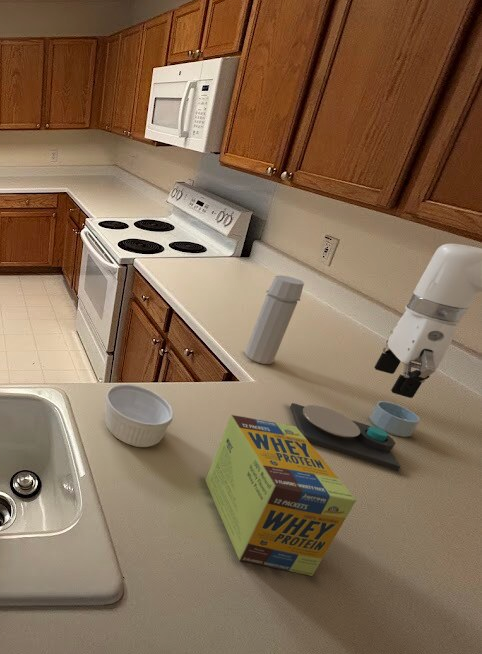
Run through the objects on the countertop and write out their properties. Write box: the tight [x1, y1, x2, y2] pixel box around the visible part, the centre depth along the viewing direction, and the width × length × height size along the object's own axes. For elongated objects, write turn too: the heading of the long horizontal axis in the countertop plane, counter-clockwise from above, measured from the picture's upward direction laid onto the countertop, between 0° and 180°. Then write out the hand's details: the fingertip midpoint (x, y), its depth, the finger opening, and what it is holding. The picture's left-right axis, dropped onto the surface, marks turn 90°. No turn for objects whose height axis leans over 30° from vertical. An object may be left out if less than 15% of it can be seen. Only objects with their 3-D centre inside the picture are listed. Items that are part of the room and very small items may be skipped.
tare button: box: [367, 425, 389, 442], centre depth 87 cm, size 3×3×2 cm
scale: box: [289, 402, 401, 472], centre depth 90 cm, size 16×13×3 cm
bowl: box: [368, 400, 421, 438], centre depth 94 cm, size 7×7×5 cm
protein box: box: [204, 414, 357, 577], centre depth 65 cm, size 10×15×16 cm
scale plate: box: [303, 404, 360, 438], centre depth 90 cm, size 10×10×1 cm
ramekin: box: [104, 383, 174, 448], centre depth 86 cm, size 13×13×7 cm
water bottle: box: [244, 274, 305, 365], centre depth 116 cm, size 9×8×25 cm
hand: (391, 382), depth 85 cm, fingers open, 9 cm apart
